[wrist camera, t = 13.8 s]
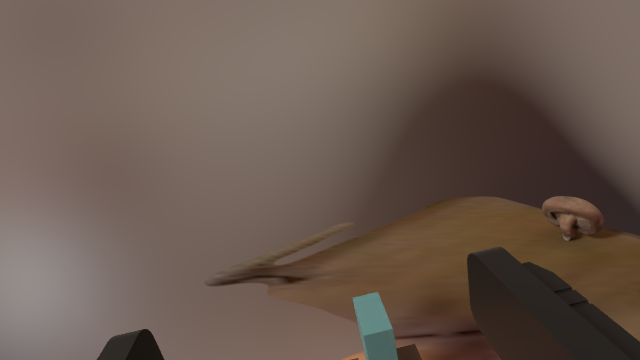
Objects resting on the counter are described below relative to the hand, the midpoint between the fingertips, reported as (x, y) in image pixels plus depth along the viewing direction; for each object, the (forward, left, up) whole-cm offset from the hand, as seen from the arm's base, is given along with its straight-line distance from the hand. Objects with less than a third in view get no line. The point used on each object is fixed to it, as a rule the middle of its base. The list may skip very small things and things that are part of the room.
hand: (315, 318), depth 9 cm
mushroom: (+38, +39, -30) cm, 62 cm away
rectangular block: (+3, +19, -29) cm, 34 cm away
